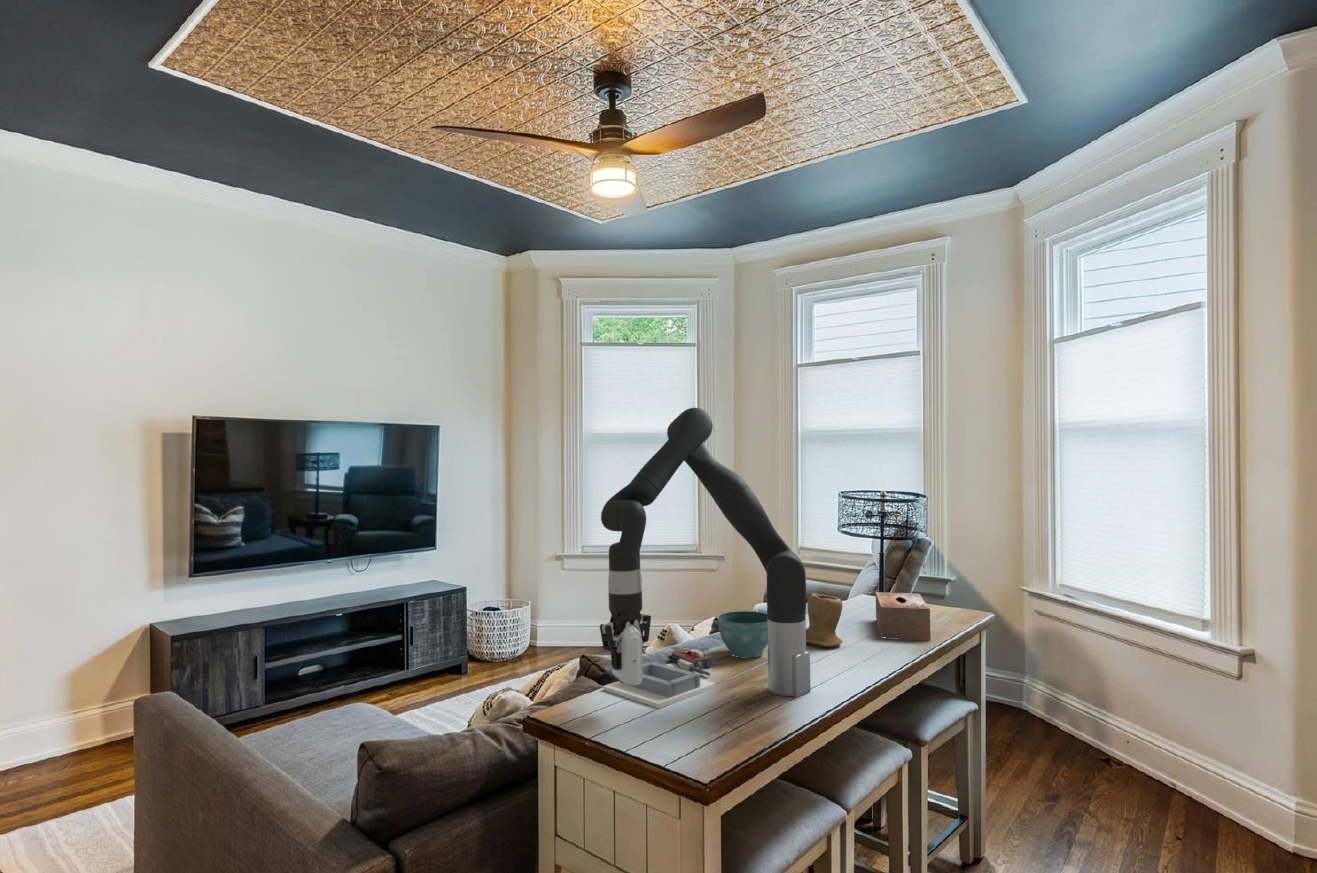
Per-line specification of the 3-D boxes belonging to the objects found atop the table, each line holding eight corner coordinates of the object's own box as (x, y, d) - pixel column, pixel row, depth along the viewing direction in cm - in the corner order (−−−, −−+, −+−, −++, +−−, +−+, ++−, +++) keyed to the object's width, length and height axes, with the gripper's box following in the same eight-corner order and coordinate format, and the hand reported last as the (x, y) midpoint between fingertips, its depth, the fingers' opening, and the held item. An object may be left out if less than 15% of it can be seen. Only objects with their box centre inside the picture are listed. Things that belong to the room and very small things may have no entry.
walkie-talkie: (661, 663, 195) (706, 680, 179) (661, 647, 196) (705, 663, 179) (686, 657, 200) (732, 674, 184) (686, 642, 201) (731, 657, 184)
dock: (715, 687, 172) (715, 671, 172) (658, 708, 158) (658, 690, 158) (660, 672, 185) (659, 656, 185) (603, 690, 171) (603, 673, 171)
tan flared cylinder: (851, 644, 211) (850, 595, 212) (827, 651, 203) (826, 600, 204) (811, 635, 223) (810, 588, 223) (787, 641, 215) (786, 593, 216)
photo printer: (645, 684, 151) (644, 626, 152) (627, 687, 149) (625, 628, 150) (627, 671, 160) (626, 617, 161) (609, 674, 159) (608, 619, 159)
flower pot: (748, 666, 190) (747, 625, 191) (706, 654, 202) (705, 616, 203) (785, 654, 201) (785, 616, 201) (743, 644, 213) (743, 608, 213)
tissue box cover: (930, 641, 215) (929, 608, 215) (881, 639, 218) (881, 607, 219) (919, 622, 240) (919, 593, 240) (876, 620, 243) (875, 592, 244)
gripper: (612, 596, 148) (614, 677, 147) (659, 586, 158) (661, 662, 158) (589, 592, 153) (591, 670, 152) (636, 583, 164) (638, 656, 163)
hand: (627, 665), depth 155 cm, fingers closed on photo printer, 5 cm apart
